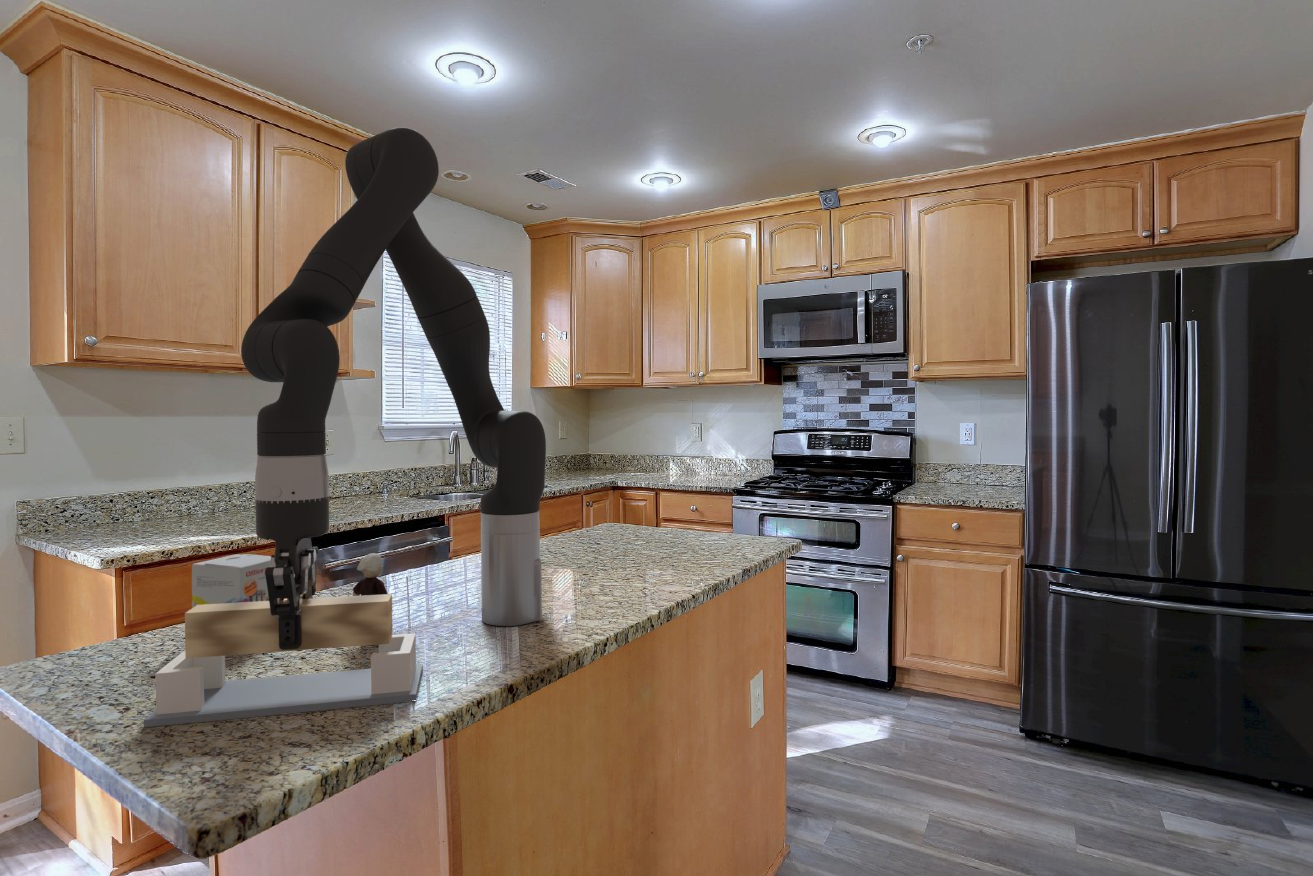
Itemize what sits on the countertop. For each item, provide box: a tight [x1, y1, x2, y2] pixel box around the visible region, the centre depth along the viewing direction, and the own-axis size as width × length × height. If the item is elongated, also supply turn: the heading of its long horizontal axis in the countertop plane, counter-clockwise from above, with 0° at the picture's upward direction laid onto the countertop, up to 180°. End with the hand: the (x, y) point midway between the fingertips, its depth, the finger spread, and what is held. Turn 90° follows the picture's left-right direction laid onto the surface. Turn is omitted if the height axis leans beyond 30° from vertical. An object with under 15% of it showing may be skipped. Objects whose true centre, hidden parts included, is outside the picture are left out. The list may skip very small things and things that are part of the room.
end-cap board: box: [143, 632, 424, 728], centre depth 81 cm, size 27×10×5 cm, turn 104°
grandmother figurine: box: [352, 552, 389, 646], centre depth 102 cm, size 8×4×13 cm, turn 71°
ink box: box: [191, 553, 271, 609], centre depth 103 cm, size 9×9×12 cm
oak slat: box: [184, 593, 394, 658], centre depth 81 cm, size 21×4×5 cm, turn 104°
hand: (295, 642), depth 81 cm, fingers closed on oak slat, 3 cm apart
